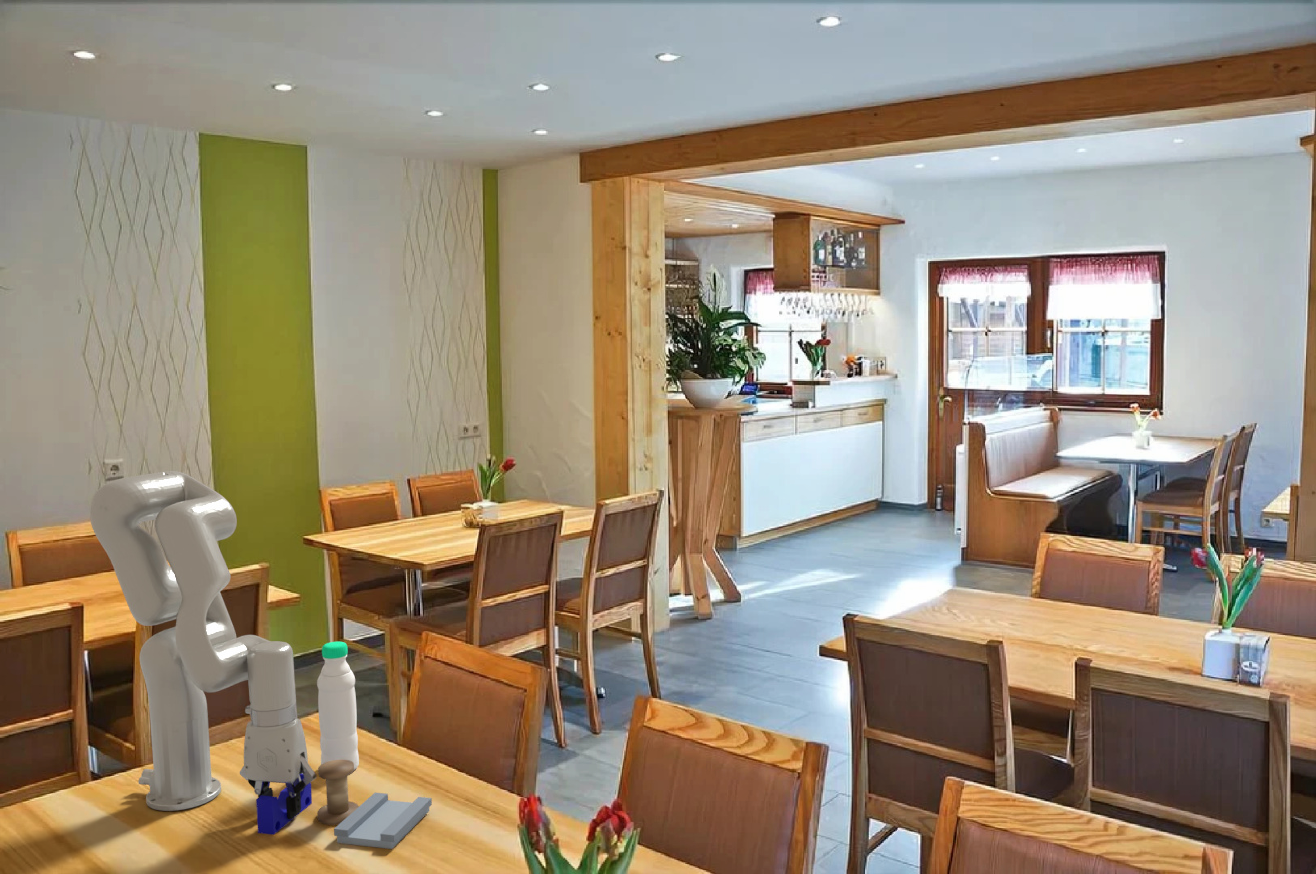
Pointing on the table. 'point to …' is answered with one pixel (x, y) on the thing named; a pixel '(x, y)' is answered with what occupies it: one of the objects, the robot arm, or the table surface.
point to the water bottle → (337, 706)
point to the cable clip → (278, 809)
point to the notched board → (381, 821)
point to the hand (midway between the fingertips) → (280, 813)
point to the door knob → (336, 791)
